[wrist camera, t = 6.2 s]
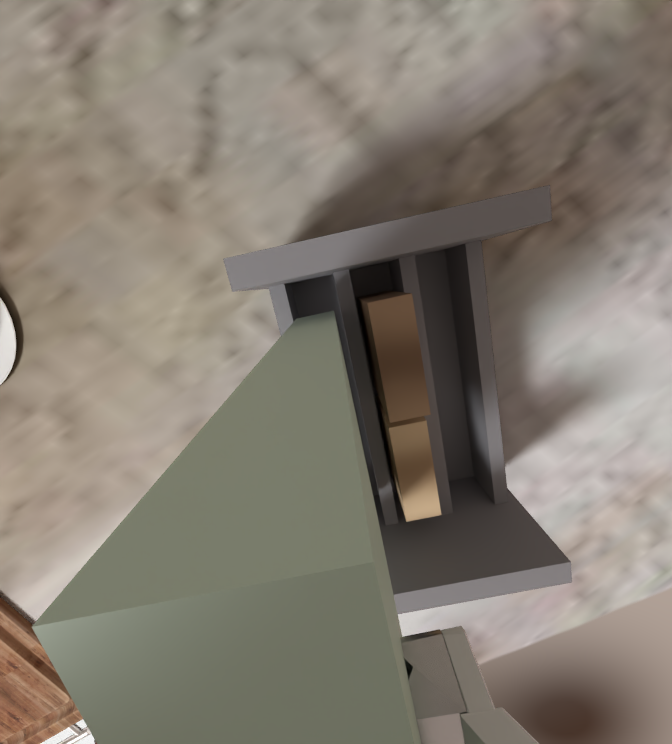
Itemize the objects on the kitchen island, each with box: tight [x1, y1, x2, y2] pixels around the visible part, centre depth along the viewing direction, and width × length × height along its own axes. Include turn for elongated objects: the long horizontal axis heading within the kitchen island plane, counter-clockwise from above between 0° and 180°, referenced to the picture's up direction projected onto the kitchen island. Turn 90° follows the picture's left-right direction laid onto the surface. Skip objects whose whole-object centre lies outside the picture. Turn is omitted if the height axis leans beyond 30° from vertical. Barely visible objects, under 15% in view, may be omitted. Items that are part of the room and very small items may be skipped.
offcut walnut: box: [357, 291, 431, 423], centre depth 23 cm, size 7×2×8 cm, turn 12°
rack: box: [223, 185, 572, 614], centre depth 24 cm, size 22×15×12 cm
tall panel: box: [32, 311, 421, 744], centre depth 14 cm, size 14×2×20 cm, turn 12°
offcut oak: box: [376, 396, 441, 522], centre depth 26 cm, size 7×2×6 cm, turn 12°
